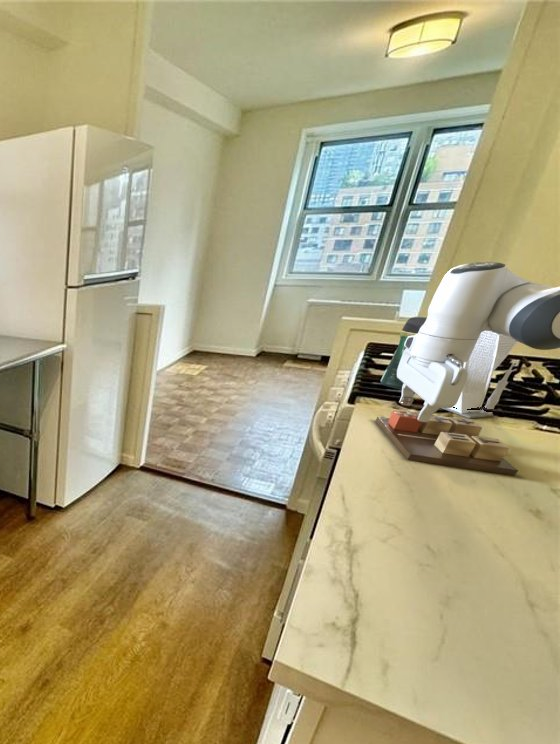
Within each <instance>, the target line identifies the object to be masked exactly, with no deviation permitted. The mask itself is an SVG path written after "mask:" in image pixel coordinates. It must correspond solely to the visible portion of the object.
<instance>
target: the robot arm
mask: <svg viewBox="0 0 560 744" xmlns="http://www.w3.org/2000/svg"><path fill="white" fill-rule="evenodd" d="M435 290H436V291H435V293H434V294H433V297H432V299H431V301H430V304H429V305H428V308H427V315H426V317H427V319H426V321H425V323H424V324H423V325H422V326H421V328H420V329H419V332H418V334H417V335H415V336H409V337H407V339H406V341H405V343H404V346H405V347H406V349H405V350H404V352H403V354H402V357H401V360H400V363H399V366H398V369H397V378H398V379H400V380H401V381H402V382H403V383H404V384H403V386H402V390H401V396H400V399H399V401H398V403H399V404H400V405H401V406H405V407H411V406H412V405H413V403H414V400H415V398H414V394H416V395H418V396H419V397H420V398H421V399H422V400H423V401H424V403H423V407H422V409H421V410H418V411H417V413H416V414H417V415H416V419H417V420H418V421H420V422H428V421H429V420H430V418H431V416H432V415H435V413H436V412H438V411H439V410H440V409H441V408H440V407H443V408H452V407H453V406H454V405H456V403H457V402H458V400H459V397H460V395H461V392H462V390H463V387H464V385H465V382H466V378H467V371H466V370H465V369H464V368H463V366H464V362H467V361H468V359H469V357H470V355H471V353H472V351H473V349H474V347H475V345H476V343H477V341H478V339H479V336H480V334H481V333H482V332H483V331H491V332H494V333H496V334H498V335H501V336H505V337H508V338H511V339H514V340H516V341H517V343H520V344H523V345H525V346H527V347H529V348H532V349H534V350H540V351H551V350H556V349H560V286H557V287H555V286H549V285H544V284H540V283H536V282H532V281H531V280H528V279H525V278H522V277H521V276H518V275H517V274H515V273H514V272H513V271H511V270H510V269H509V268H508V266H507V264H505V263H502V262H497V261H484V262H483V261H481V262H480V261H479V262H469V263H464V264H460V265H458V266H454V267H453V268H451V269H450V270H449V271H447V273H446V274H445V275H444V277H443V278H442V280H441V281H440V283H439V285H438V287H437V288H436V289H435Z"/></svg>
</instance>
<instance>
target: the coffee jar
mask: <svg viewBox="0 0 560 744" xmlns="http://www.w3.org/2000/svg"><path fill="white" fill-rule="evenodd" d="M426 319H427V316H412V317H410V318H408V319H407V320H406V321H405V323H404V326H403V327H402V329H401V331H400V339H399V343H398V345H397V347H396V350H395V352H394V354H393V356H392V358H391V359H390V362H389V364H388V365H387V367H386V369H385V370H384V373H383V375H382V376H381V379H380V383H381V384H382V385H383V386H385V387H388V388H391V389H396V390H399V391H402V386H403V384H404V383H403V382H402V381H401V380H400V379H398V378H397V369H398V366H399V363H400V360H401V357H402V354H403V352H404V350H405V349H406V347H405V346H404V343H405V341H406V339H407V337H409V336H415V335H417V334H418V332H419V329H420V328H421V326H422V325H423V324H424V323H425V321H426Z"/></svg>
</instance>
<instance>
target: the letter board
mask: <svg viewBox="0 0 560 744" xmlns="http://www.w3.org/2000/svg"><path fill="white" fill-rule="evenodd" d="M389 418H390V417H381V416H377V417H376V419H375V423H376V424H377V425H378V426H379V428H380V429H381V430H382V431H383V432H384V433H385V435H386V436H387V437H388V438H389V440H390V441H391V442H392V443H393V444H394V445H395V446H396V448H397V449H398V450H399V451H400V452H401V453H402V455H403V456H404V457H405V458H406V460H408V461H415V462H422V463H428V464H434V465H441V466H447V467H454V468H455V467H456V468H461V469H469V470H475V471H480V472H487V473H494V474H499V475H507V476H513V477H514V476H516V475H517V473H518V472H519V469H518V468H516V467H515V466H514V465H512V464H511V463H510V462H509V461H507V460H506V458H503V459H502V461H501V462H500V461H493V460H486V459H479V458H474V457H473V456H472V455H471V454H470V455H469V457H466V456H459V455H452V454H445V453H442V452H441V451H440V450H439V449H438V448H437V447H436V446H435V445H434V444H435V442H436V440H437V438H438V436H439V435H433V434H426V433H422V432H421V431H420V430H419V429H418V431H417V432H411V431H404V430H396V429H393V428H392V426H391V425H390V424H389V423H388V421H389Z"/></svg>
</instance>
